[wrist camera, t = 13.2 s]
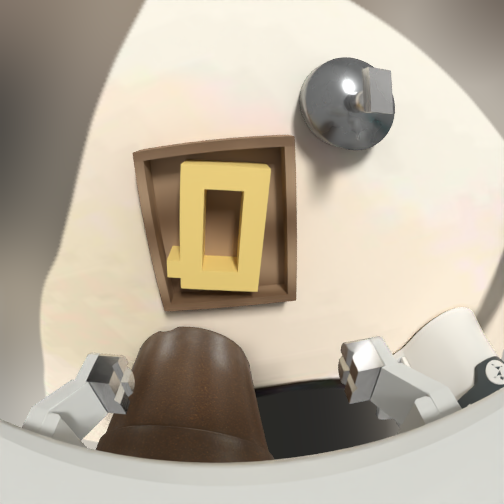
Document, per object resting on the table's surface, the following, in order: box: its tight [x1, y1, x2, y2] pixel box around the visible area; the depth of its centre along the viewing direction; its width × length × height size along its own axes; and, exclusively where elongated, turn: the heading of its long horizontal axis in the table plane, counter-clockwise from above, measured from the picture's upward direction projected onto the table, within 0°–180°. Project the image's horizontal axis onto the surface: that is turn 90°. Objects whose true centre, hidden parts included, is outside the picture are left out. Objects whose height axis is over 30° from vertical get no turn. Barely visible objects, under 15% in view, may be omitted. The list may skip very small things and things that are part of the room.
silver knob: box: [300, 58, 395, 150], centre depth 17 cm, size 7×7×6 cm
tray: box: [133, 135, 297, 311], centre depth 22 cm, size 13×11×2 cm
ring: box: [167, 159, 271, 292], centre depth 21 cm, size 7×9×3 cm
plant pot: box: [96, 327, 274, 463], centre depth 22 cm, size 16×16×16 cm
